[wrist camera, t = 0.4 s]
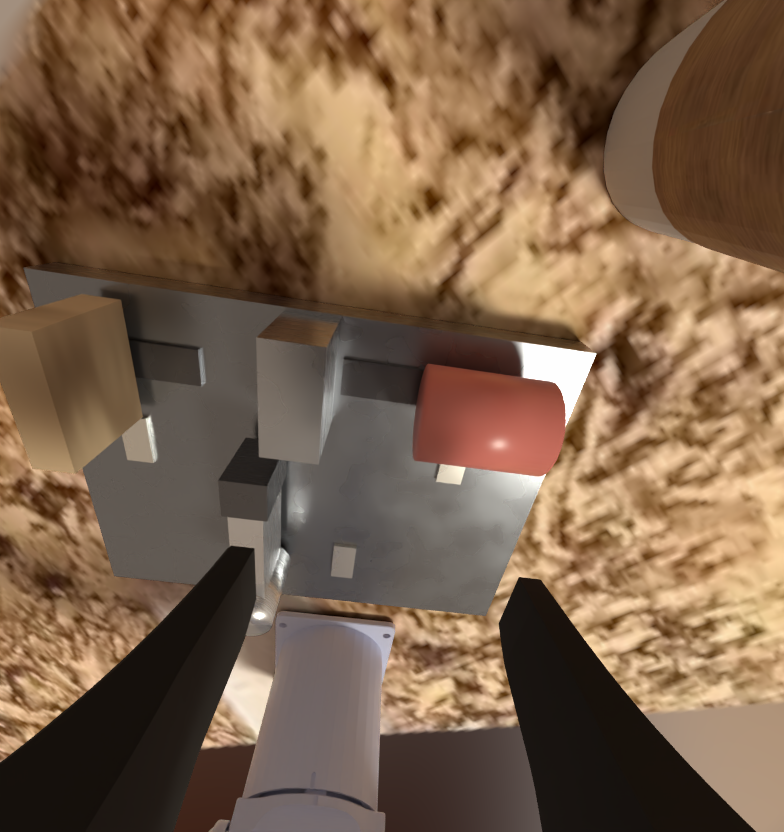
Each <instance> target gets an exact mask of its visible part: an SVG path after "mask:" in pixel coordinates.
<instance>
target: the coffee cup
mask: <svg viewBox="0 0 784 832" xmlns="http://www.w3.org/2000/svg"><path fill="white" fill-rule="evenodd" d="M604 175H605V180H606V186H607V190H608V192H609V194H610V197H611V199H612V201H613V203H614V205H615V206H616V208H617V209H618V210H619V212H620V213H621V214H622V215H623V216H624V217H625V218H627V219H628V220H629V221H630V222H632V223H633V224H635V225H637V226H639V227H642V228H644V229H646V230H649V231H652V232H655V233H659V234H663V235H666V236H670V237H674V238H678V239H681V240H685V241H689V242H692V243H696V244H698V245H701V246H703V247H705V248H708V249H711V250H714V251H717V252H720V253H723V254H726V255H729V256H732V257H736V258H739V259H742V260H745V261H748V262H751V263H754V264H757V265H760V266H763V267H767V268H770V269H773V270H776V271H779V272H782V273H784V0H723V1H722V2H721V3H719V4H718V5H717V6H715V7H714V8H713V9H711V10H710V11H709V12H707V13H706V14H705V15H703V16H702V17H701V18H699V19H698V20H696V21H695V22H694V23H692V24H691V25H690V26H688V27H687V28H686V29H684V30H683V31H682V32H681V33H679V34H678V35H677V36H675V37H674V38H673V39H672V40H670V41H669V42H668V43H667V44H665V45H664V46H663V47H662V48H660V49H659V50H658V51H657V52H656V53H655V54H654V55H653V56H652V57H651V58H650V59H649V60H648V61H647V62H646V63H645V65H644V66H643V67H642V68H641V69H640V70H639V71H638V73H637V74H636V75H635V77H634V78H633V80H632V81H631V83H630V84H629V86H628V87H627V88H626V90H625V92H624V94H623V96H622V98H621V100H620V101H619V103H618V105H617V107H616V109H615V111H614V114H613V117H612V120H611V123H610V126H609V129H608V132H607V138H606V144H605V150H604Z"/></svg>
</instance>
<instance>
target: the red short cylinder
mask: <svg viewBox="0 0 784 832" xmlns="http://www.w3.org/2000/svg"><path fill="white" fill-rule="evenodd" d="M565 427H566V408H565V401H564V397H563V394H562V392H561V390H560V388H559V386H558V385H557V384H556V383H554V382H551V381H545V380H538V379H531V378H524V377H517V376H511V375H504V374H497V373H490V372H483V371H476V370H469V369H462V368H455V367H448V366H441V365H434V364H427V365H426V367H425V369H424V372H423V375H422V379H421V383H420V387H419V392H418V398H417V404H416V410H415V418H414V427H413V443H412V450H413V459H414V461H421V462H429V463H436V464H444V465H452V466H460V467H467V468H475V469H483V470H490V471H498V472H506V473H514V474H521V475H529V476H537V477H539V476H543V475H545V474H546V473H547V472H548V471H549V470H550V469H551V468H552V467H553V465H554V463H555V462H556V460H557V458H558V456H559V453H560V450H561V447H562V444H563V439H564V434H565Z"/></svg>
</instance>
